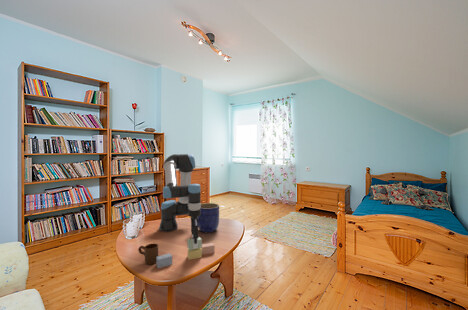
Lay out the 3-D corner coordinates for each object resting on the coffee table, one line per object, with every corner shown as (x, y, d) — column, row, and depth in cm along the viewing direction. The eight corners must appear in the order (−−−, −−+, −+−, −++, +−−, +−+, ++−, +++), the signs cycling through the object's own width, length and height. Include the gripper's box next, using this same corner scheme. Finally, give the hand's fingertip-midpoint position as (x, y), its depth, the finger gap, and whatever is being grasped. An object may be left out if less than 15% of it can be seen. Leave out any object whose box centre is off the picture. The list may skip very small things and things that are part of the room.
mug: (134, 264, 122) (134, 248, 122) (142, 257, 130) (142, 242, 130) (154, 265, 121) (154, 249, 121) (160, 258, 128) (160, 243, 128)
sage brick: (189, 250, 127) (189, 241, 127) (187, 247, 131) (187, 239, 131) (201, 247, 131) (201, 239, 131) (199, 244, 134) (199, 237, 134)
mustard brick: (188, 259, 128) (188, 251, 128) (187, 256, 131) (187, 248, 131) (201, 257, 130) (201, 249, 130) (200, 254, 134) (200, 246, 134)
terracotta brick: (202, 255, 133) (202, 247, 133) (201, 252, 137) (201, 244, 137) (214, 253, 136) (214, 245, 136) (212, 250, 140) (212, 242, 140)
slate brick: (157, 268, 118) (157, 259, 118) (156, 265, 122) (156, 256, 121) (172, 264, 122) (172, 256, 122) (170, 261, 126) (170, 253, 126)
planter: (192, 232, 171) (192, 207, 170) (204, 225, 188) (204, 202, 187) (212, 235, 163) (212, 209, 163) (223, 228, 180) (222, 204, 180)
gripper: (186, 206, 137) (186, 242, 138) (190, 213, 121) (190, 254, 121) (198, 205, 140) (198, 240, 140) (203, 212, 124) (203, 251, 124)
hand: (194, 246), depth 131 cm, fingers closed on sage brick, 4 cm apart
